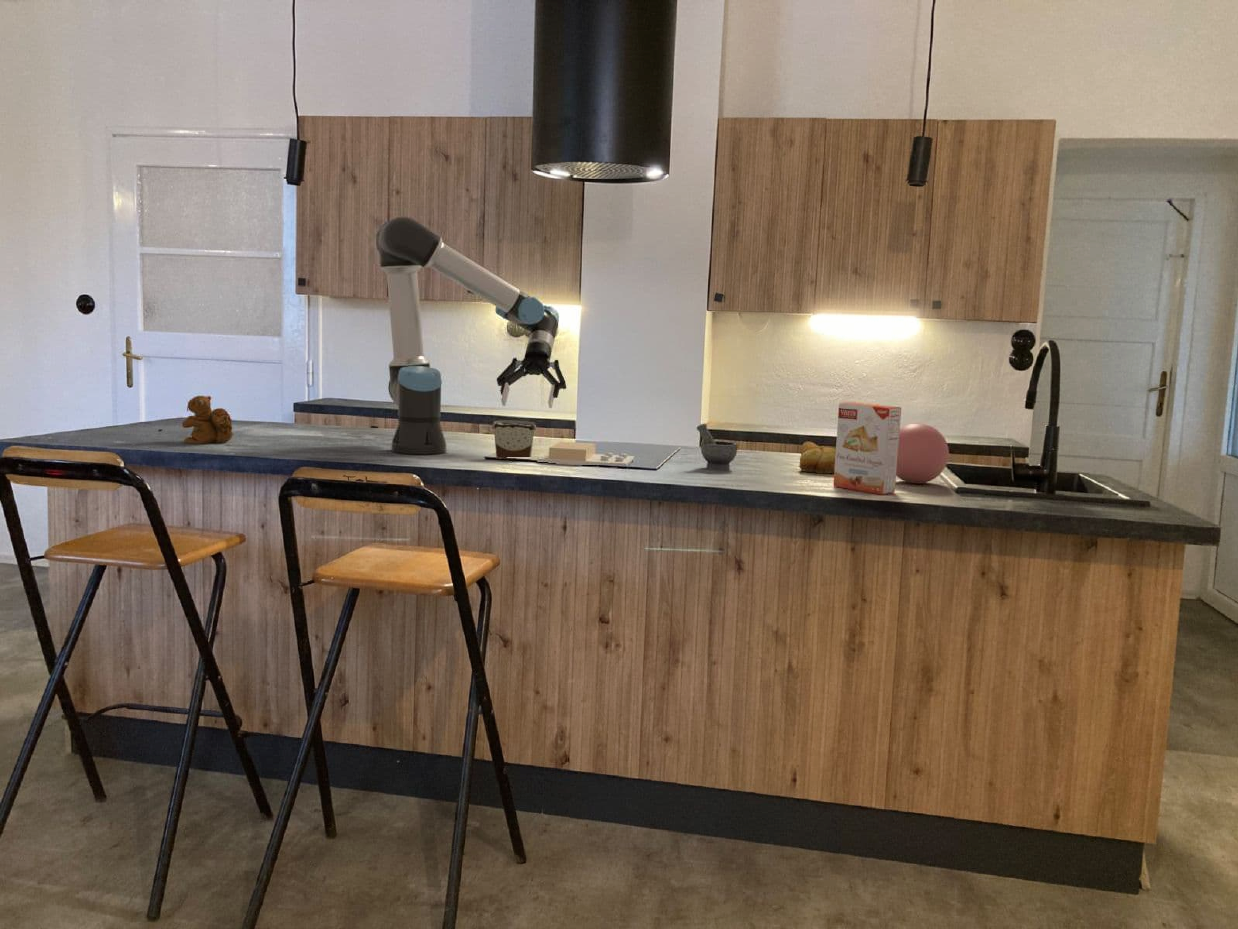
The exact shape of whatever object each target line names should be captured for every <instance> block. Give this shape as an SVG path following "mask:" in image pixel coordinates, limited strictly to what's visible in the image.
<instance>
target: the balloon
mask: <svg viewBox="0 0 1238 929" xmlns="http://www.w3.org/2000/svg"><path fill="white" fill-rule="evenodd" d="M949 455H950V451H949V445H948V443H947V440H946V438H945V437H944V435H943V434H942V433H941V432H940V431H939V430H938V429H936V428H935V427H933V426H932V425H928V424H926V423H910V424H906V425H904V426H901V427H900V432H899V445H898V458H897V471H896V478H899V479H900V480H902V481H904V482H906V483H910V484H916V485H917V484H925V483H928V482H931V481H933V480H935V479H936V478H937V477H939V476H940V475H941V474H942V473H943V472H944V470H945V469H946V467H947V465H948V461H949Z"/></svg>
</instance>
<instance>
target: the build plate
mask: <svg viewBox="0 0 1238 929" xmlns="http://www.w3.org/2000/svg"><path fill="white" fill-rule="evenodd" d="M633 459H634V460H635V456H634V455H628V453H619V454H618V455H617V454H613V452H605V453H604V454H602V453H601V454H599V453H596V443H590V442H588V443H587V442H572V441H571V442H570V441H559V442H557V443H555V444H553V445H551V446H550V447H548V452H547V453H545V454H543V455H541V456H539V457H538V458H537V460H536V461H537V462H548V463H556V464H555V465H568V466H582V465H610V466H627V465H628V464H629V463H630V462H631V461H632V460H633ZM548 463H547V464H548Z"/></svg>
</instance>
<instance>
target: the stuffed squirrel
mask: <svg viewBox="0 0 1238 929" xmlns="http://www.w3.org/2000/svg"><path fill="white" fill-rule="evenodd" d="M211 400H212V397H211V396H210V395H207V396H205V395H196V396H194V397H192V398H191V399H190V400H188V402H187V406H186V408H187V409H186V411H187V412H189V411H190V412H191V413H193V414H194V415H188V416H187V417H186V419H184V420H183V421H182V422H181V425H182V427H183V428H185V429H188V428H192V431H191V433H190V435H191V436H188V437H185V438H184V440H183V443H184V444H186V445H188V444H189V445H191V444H192V445H194V444H195V445H197V444H198V445H202V444H203V445H205V444H212V443H214V444H223V443H227V442H229V441H230V440H231V439H232V438H233V436H234V435H235V434H234V432H232V431H233V428H234V427H233V425H232V423H233V422H232V421H233V420H232V417H231V415H230V414H229V413H228V411H227V410H226V409H225V408H220V407H218V408H215V409H213V410H212V408H211V404H212V403H211Z"/></svg>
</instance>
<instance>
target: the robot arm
mask: <svg viewBox="0 0 1238 929" xmlns="http://www.w3.org/2000/svg"><path fill="white" fill-rule="evenodd" d="M375 244H376V248H377V250H378V254H379V262H380V269H381V270H382V271H383V272H384V273H385V274H386V281H387V293H388V304H389V305H388V306H389V316H390V318H389V319H390V320H389V321H390V329H391V342H392V354H393V358H392V360H391V361H390V363H388V370H389V371H388V372H389V380H388V385H387V387H388V390H387V391H388V395H389V396H390V398H391V400H392V401H393V402H394V404H396V406H398V407H397V409H398V410H397V416H398V418H397V426H396V428H395V431H394V435H393V438H392V441H391V447H390V448H391V450H390V451H391V452H393V453H398V454H403V455H404V454H405V455H406V454H407V455H439V454H443V453H446V452H447V442H446V438H445V436H444V432H443V429H442V424H441V417H442V414H441V412H442V411H441V410H442V406H441V405H442V401H441V400H442V384H443V383H442V382H443V381H442V373H441V372H440V370H438V369H437V368H434V367H431V365H430V361H429V360H428V359H427V358H425V354H424V344H423V343H424V342H423V331H422V330H423V329H422V319H421V318H422V315H421V305H420V304H421V303H420V291H419V280H418V279H419V278H418V277H419V276H418V273H419V271H420V270H421V268H431V269H432V270H434V271H436V272H437V273H439V274H441V275H443V276H444V277H446V278H448V279H450V280H451V281H453V282H454V283H456V284H457V285H459V286H461V287H463V288H464V289H465V290H468V291H469V292H471V293H473V294H474V295H476V296H477V297H480V298H481V299H483V300H485V301H486V302H488V303H489V304H491V305H493V306H495V309H494V310H495V314H497V316H500V317H501V318H502V319H503V320H507V321H508V322H510V323H512V324H515V326H518V327H520V328H522V329H523V330H525V331H527V332H529V338H528V341H527V346H526V348H525V349H526V350H525V354H524V357H523V359H522V360H519V359H518V358H517V357H513V358H512V360H511V363H510V364H509V365H508V366H507V367H506V368H505V369H504V370H503V371H502V372H501V373H500V374H499V375H498V376H497V377H496V383H497V386H498V387H500V390H499V392H500V395H501V399H500V400H501V404H502V407H505V406H506V404H507V401H508V397H509V396H508V395H509V393H510V386H511V385H512V384H514V383H515V382H517V381H518V380H520V379H521V378H523V377H526V376H528V375H529V376H533V375H535V376H540V375H542V376H543V378H544V379H546V380H547V381H548V382H549V384H551V388H550V392H549V396H548V400H547V404H548V407H549V409H553V404H554V400H555V399H557V398H558V397H559V394H560V390H561V389H562V390H566V389H567V384H566V380H565V378H564V375H563V372H562V371H561V367H560V362H559V360H558V359H555V360H554V361H551V358H552V353H553V348H554V343H555V338H556V336H557V335H556V334H557V332H558V331H557V330H558V328H559V322H560V321H559V320H560V319H559V318H560V316H559V313H558V311H557V310H556V309H555V308H554V307H553V306H550V305H549V306H547V305H544V304H543V302H542V301H541V300H540V299H538V298H537V297H535V296H530V295H528V294H527V293H525V292H523V291H521V290H520V289H519V288H517V287H515V286H514V285H512V284H510V283H509V282H507V281H506V280H504V279H503V278H501V277H499V276H497V275H496V274H494V273H493V272H491V271H489V270H488V269H487V268H485V267H483V266H481V265H479V264H478V263H476V262H474V261H473V260H472V259H470V258H468V257H466V256H465V255H463V254H461V252H458V251H457V250H455V249H453V248H452V247H451V246H449V245H447V244H446V243H444V242H443V238H442V236H440V235H438V234H436V233H435V232H433V231H432V230H430V229H429V228H428V227H427V226H425V225H424V224H422V223H421V222H419V221H418V220H416V219H414V218H412V217H410V216H409V217H408V216H397V217H394V218H392V219H391V220H390V219H389V220H387V221H386V222H384V223H383V224H382V225H381V226H380V228H379V229H378V231H377V234H376V238H375ZM550 368H552V370H553V371H554V372H555V375H556V377H557V379H558V380H557V379H556V378H555V377H554V375H553V373H551V371H549V369H550Z"/></svg>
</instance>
